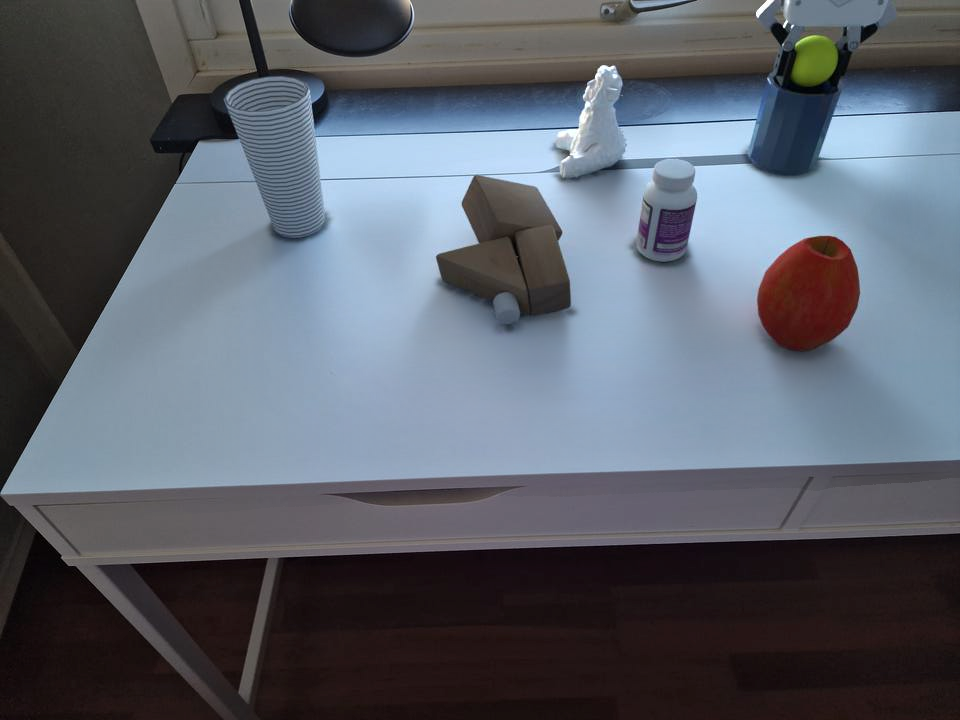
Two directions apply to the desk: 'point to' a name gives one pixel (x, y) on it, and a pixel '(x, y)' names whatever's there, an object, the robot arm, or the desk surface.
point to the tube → (792, 126)
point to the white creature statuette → (595, 128)
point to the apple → (809, 293)
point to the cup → (280, 150)
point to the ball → (814, 61)
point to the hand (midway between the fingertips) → (806, 80)
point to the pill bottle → (667, 211)
